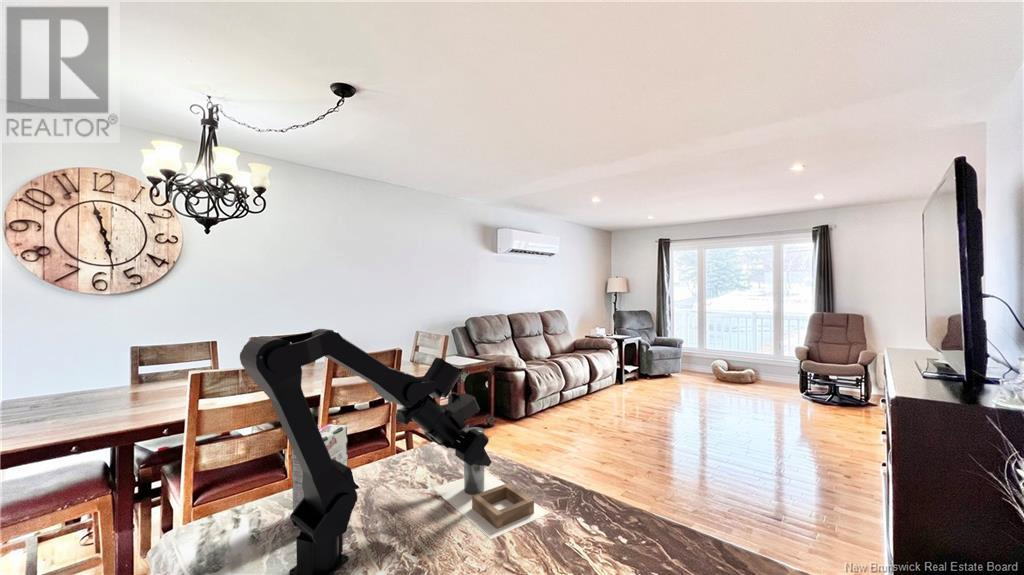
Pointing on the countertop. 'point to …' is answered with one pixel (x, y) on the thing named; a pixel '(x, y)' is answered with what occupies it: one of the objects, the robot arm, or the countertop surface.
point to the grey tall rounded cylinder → (473, 474)
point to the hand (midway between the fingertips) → (478, 456)
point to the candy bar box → (337, 450)
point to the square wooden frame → (507, 515)
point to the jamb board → (463, 504)
